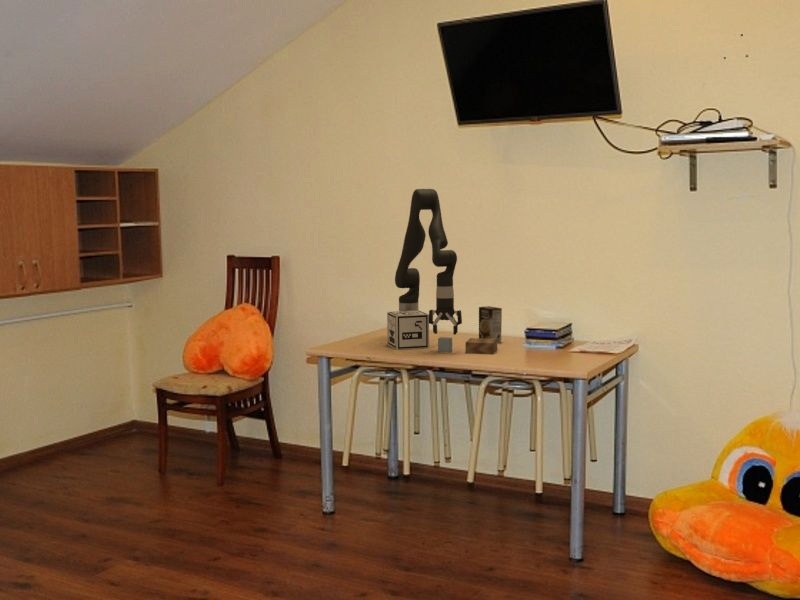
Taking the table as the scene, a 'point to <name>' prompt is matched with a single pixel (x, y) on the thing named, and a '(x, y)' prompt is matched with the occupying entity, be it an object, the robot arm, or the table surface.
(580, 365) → the table surface
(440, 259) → the robot arm
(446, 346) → the slate block
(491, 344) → the walnut block
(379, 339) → the table surface
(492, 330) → the coffee box
